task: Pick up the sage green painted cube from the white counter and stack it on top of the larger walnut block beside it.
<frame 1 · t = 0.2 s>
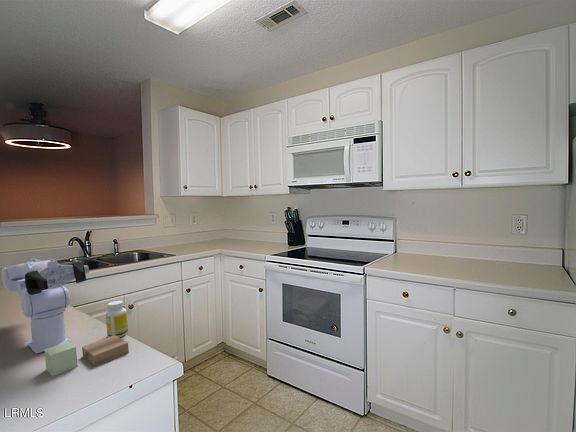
hand: (65, 280, 73), 21 cm above the counter, tool horizontal, fingers open, 7 cm apart
sage cube: (62, 368, 74), on the counter
walnut block: (106, 355, 79), on the counter
supplement bottle: (118, 335, 91), on the counter
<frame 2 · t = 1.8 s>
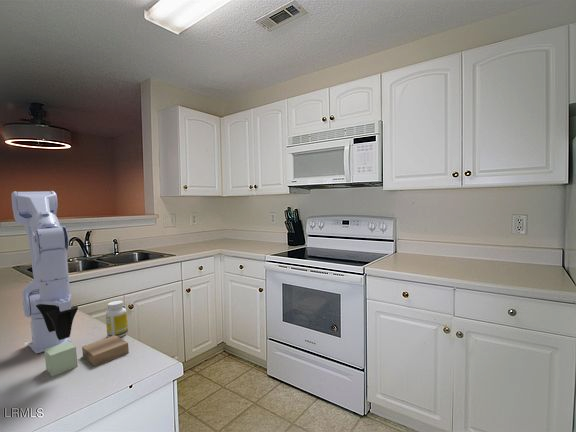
hand: (59, 334, 73), 8 cm above the counter, tool pointing down, fingers open, 7 cm apart
nothing on the counter moved.
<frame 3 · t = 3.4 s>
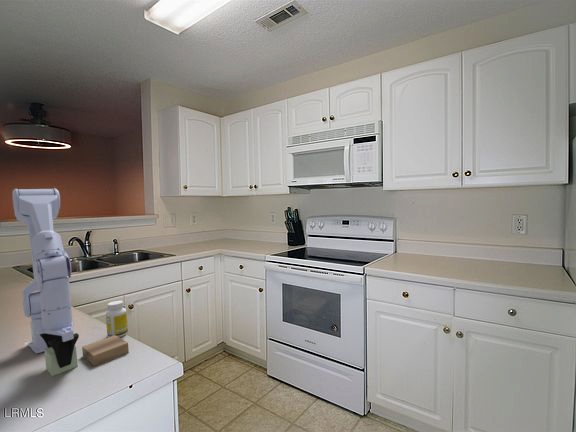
hand: (61, 362, 73), 1 cm above the counter, tool pointing down, fingers closed on sage cube, 5 cm apart
sage cube: (62, 367, 74), on the counter, touching gripper
everything else where it was.
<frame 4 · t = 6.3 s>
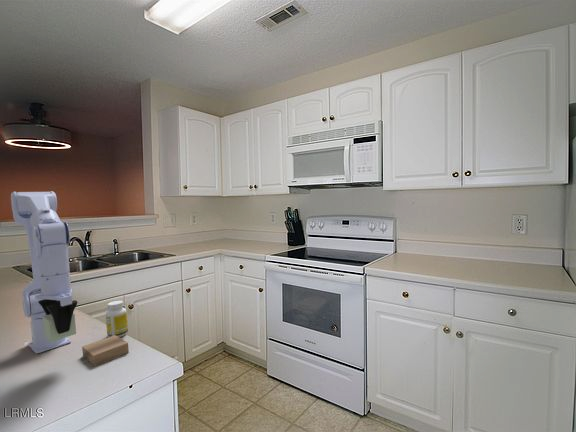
hand: (60, 329, 73), 9 cm above the counter, tool pointing down, fingers closed on sage cube, 5 cm apart
sage cube: (60, 335, 73), point 8 cm above the counter, touching gripper
everything else where it was.
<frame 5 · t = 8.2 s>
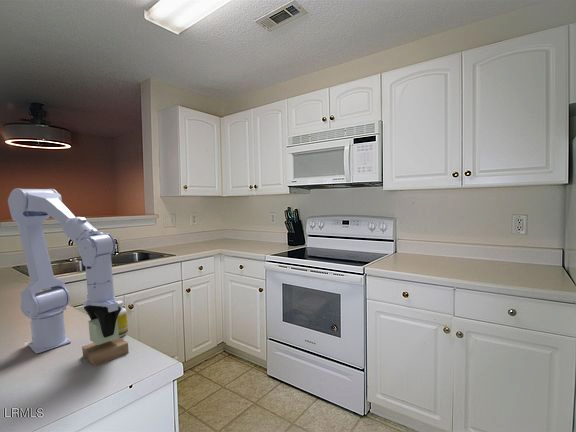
hand: (104, 333, 79), 6 cm above the counter, tool pointing down, fingers closed on sage cube, 5 cm apart
sage cube: (104, 338, 79), point 4 cm above the counter, touching gripper
everything else where it was.
when the fingers open (5 cm above the counter, at t = 9.5 s): sage cube drops 1 cm, resting on walnut block.
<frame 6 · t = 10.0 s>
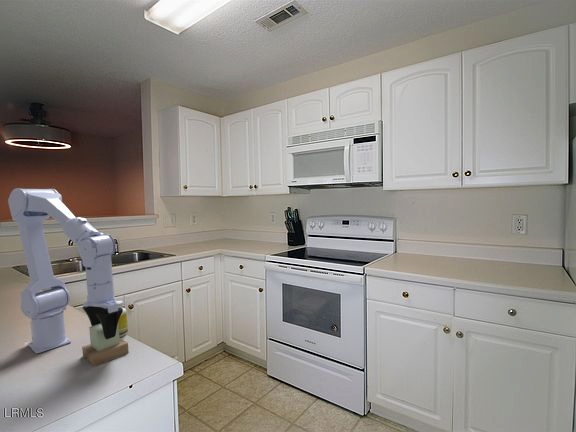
hand: (104, 334, 79), 5 cm above the counter, tool pointing down, fingers open, 7 cm apart
sage cube: (105, 344, 79), point 3 cm above the counter, touching walnut block
walnut block: (106, 356, 79), on the counter, touching sage cube
everything else where it was.
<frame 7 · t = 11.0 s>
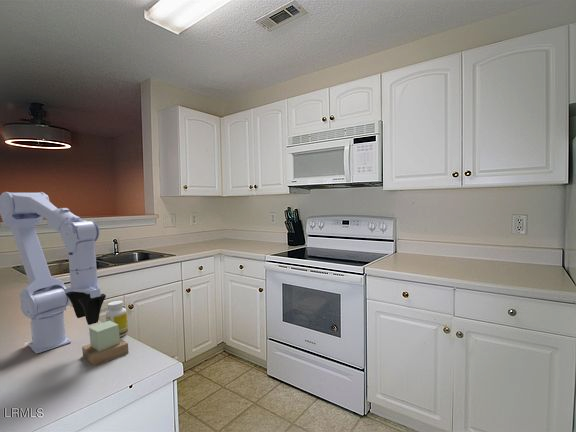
hand: (87, 320, 79), 9 cm above the counter, tool pointing down, fingers open, 7 cm apart
sage cube: (105, 344, 79), point 3 cm above the counter
walnut block: (106, 356, 79), on the counter
everything else where it was.
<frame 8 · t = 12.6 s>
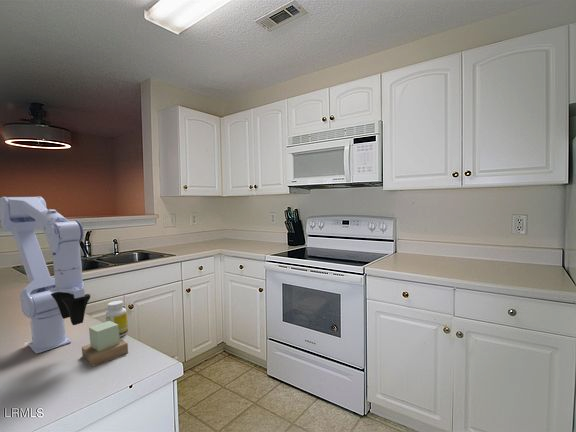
hand: (72, 320, 79), 9 cm above the counter, tool pointing down, fingers open, 7 cm apart
sage cube: (105, 344, 79), point 3 cm above the counter, touching walnut block
walnut block: (105, 356, 79), on the counter, touching sage cube
everything else where it was.
at the end: sage cube 0.2 cm off-centre on the walnut block, point 3.0 cm above the walnut block's base; sage cube tilted 0°; the gripper is holding nothing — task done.
